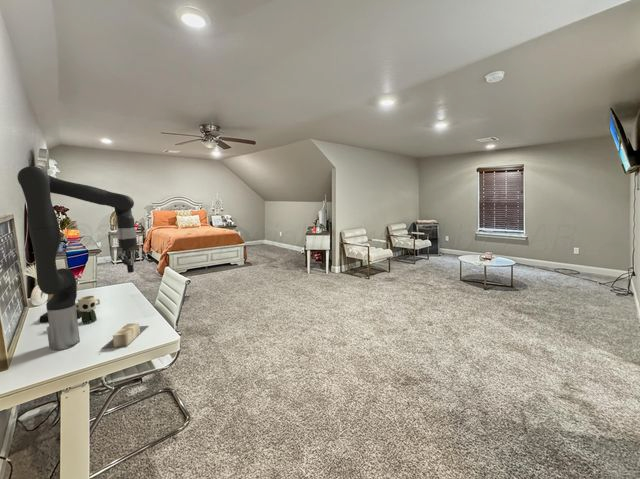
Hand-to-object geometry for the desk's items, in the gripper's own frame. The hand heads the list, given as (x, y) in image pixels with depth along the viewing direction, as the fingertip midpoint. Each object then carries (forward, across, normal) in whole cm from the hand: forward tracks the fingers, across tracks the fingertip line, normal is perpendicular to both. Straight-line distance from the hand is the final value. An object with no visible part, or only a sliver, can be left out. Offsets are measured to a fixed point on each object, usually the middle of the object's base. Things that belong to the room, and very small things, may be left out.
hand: (130, 272), depth 145 cm
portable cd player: (+28, -20, -44) cm, 56 cm away
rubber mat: (+27, +15, +3) cm, 31 cm away
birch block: (+24, +12, +5) cm, 27 cm away
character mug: (+27, -8, -26) cm, 39 cm away
